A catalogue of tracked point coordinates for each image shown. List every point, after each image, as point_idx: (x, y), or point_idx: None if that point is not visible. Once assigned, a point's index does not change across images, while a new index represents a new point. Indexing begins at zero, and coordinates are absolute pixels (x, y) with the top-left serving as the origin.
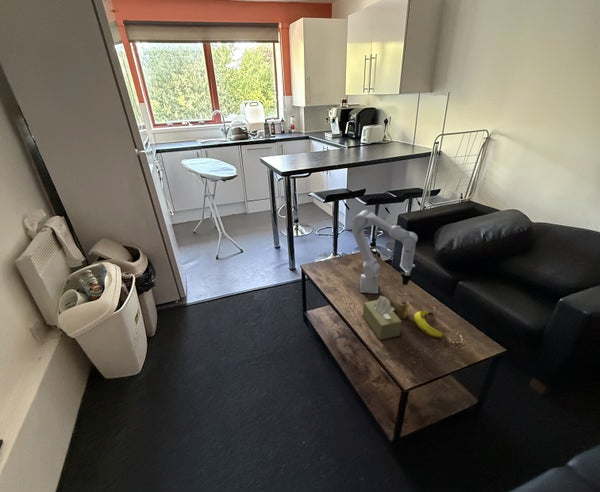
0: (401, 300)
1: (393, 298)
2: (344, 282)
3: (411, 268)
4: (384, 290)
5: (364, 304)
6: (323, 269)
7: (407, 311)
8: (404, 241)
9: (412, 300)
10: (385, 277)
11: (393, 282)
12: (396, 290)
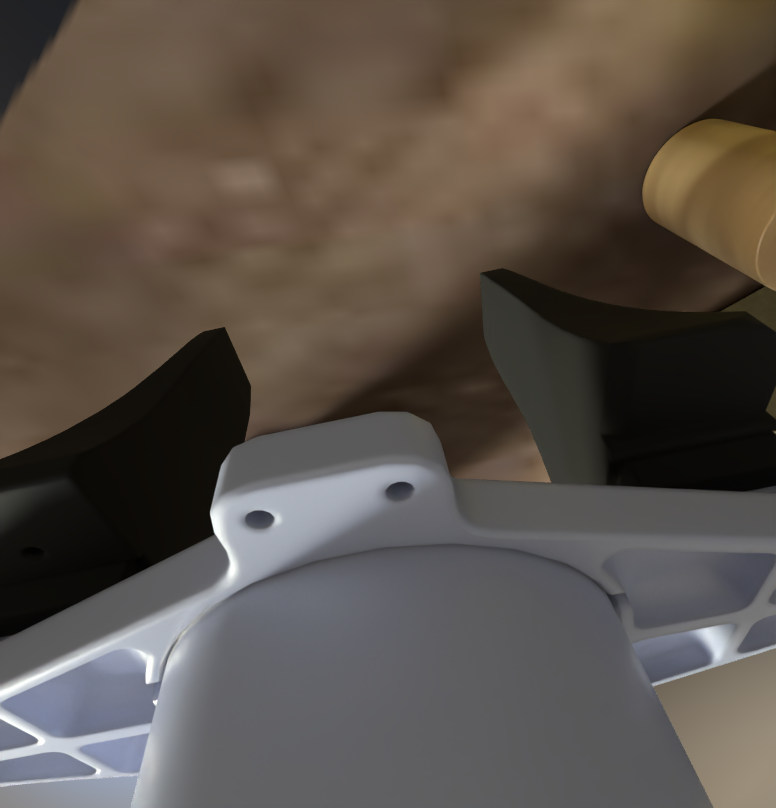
0: (762, 265)
1: (392, 296)
2: None
3: (694, 539)
4: (279, 390)
5: None
6: None
7: (771, 130)
8: None
9: (366, 67)
10: (24, 424)
11: (68, 342)
12: (221, 289)
